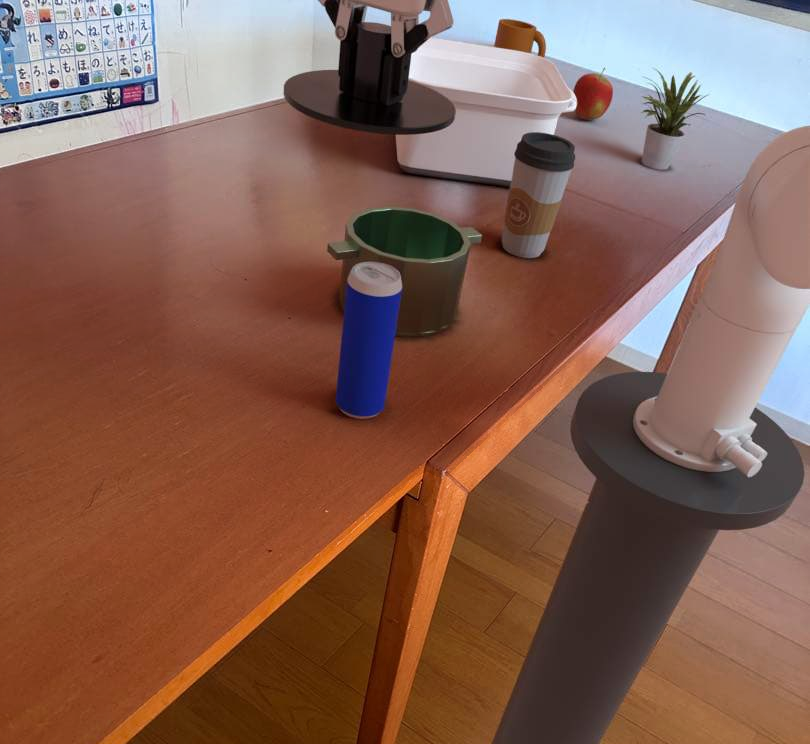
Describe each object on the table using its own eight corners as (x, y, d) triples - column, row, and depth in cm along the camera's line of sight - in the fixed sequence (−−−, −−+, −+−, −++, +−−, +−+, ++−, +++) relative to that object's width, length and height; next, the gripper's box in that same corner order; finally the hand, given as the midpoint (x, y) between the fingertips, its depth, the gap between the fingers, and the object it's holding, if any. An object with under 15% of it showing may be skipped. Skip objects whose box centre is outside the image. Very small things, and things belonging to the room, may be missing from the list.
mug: (530, 79, 188) (540, 35, 182) (484, 65, 191) (492, 21, 185) (544, 73, 194) (554, 29, 188) (499, 59, 197) (508, 16, 191)
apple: (573, 109, 175) (587, 58, 168) (609, 120, 173) (624, 68, 167) (562, 118, 170) (575, 65, 163) (598, 129, 168) (614, 75, 161)
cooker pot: (494, 323, 102) (512, 251, 96) (354, 349, 94) (363, 271, 87) (434, 270, 111) (446, 200, 104) (300, 288, 102) (304, 214, 95)
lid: (486, 137, 74) (502, 54, 70) (333, 147, 67) (339, 56, 62) (398, 81, 83) (407, 5, 79) (254, 84, 76) (255, 1, 71)
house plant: (622, 142, 164) (650, 51, 152) (690, 160, 162) (724, 68, 150) (612, 163, 153) (641, 67, 142) (684, 182, 151) (719, 86, 140)
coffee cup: (482, 243, 119) (505, 135, 109) (517, 231, 124) (543, 127, 114) (526, 266, 116) (554, 157, 105) (560, 254, 120) (590, 148, 110)
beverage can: (393, 411, 86) (415, 278, 75) (357, 427, 83) (374, 291, 73) (361, 387, 88) (377, 255, 78) (324, 402, 85) (336, 267, 75)
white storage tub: (366, 177, 131) (377, 76, 121) (367, 119, 152) (376, 28, 142) (570, 203, 136) (596, 108, 125) (543, 143, 156) (564, 57, 146)
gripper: (514, -146, 62) (469, 112, 75) (330, -186, 66) (317, 65, 79) (473, -147, 57) (432, 131, 70) (277, -190, 61) (271, 78, 74)
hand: (371, 93), depth 74 cm, fingers closed on lid, 3 cm apart
